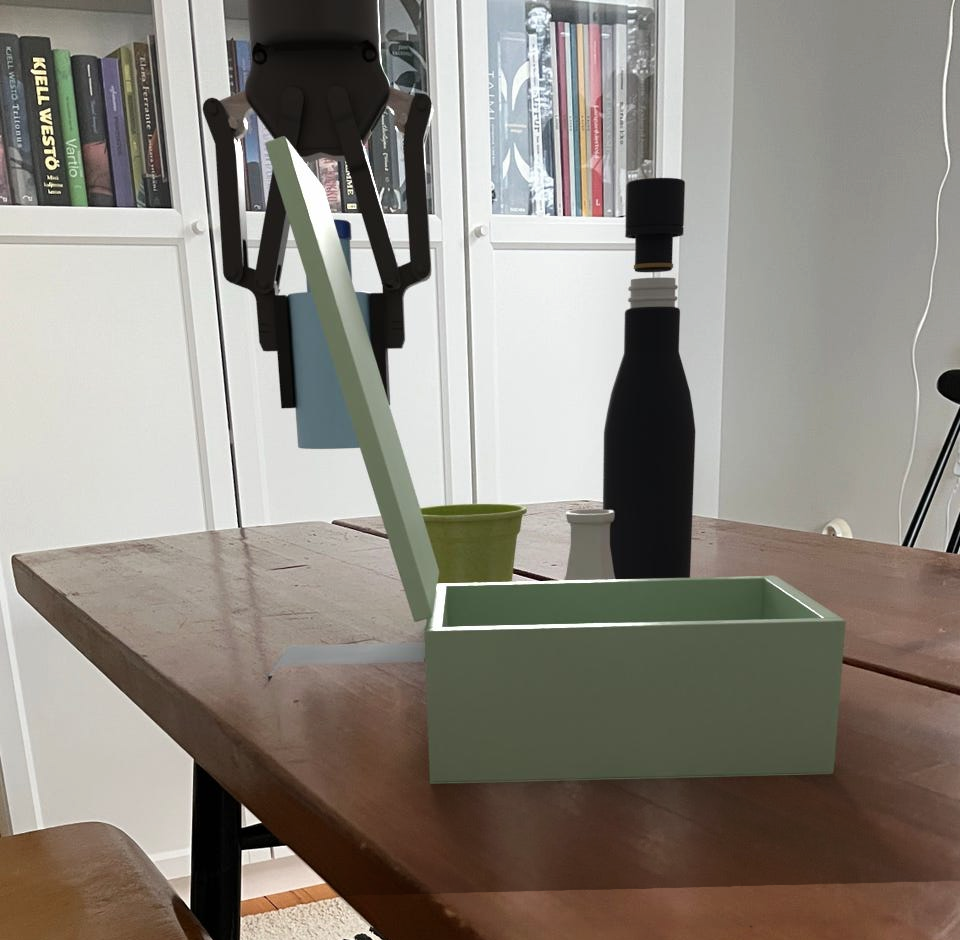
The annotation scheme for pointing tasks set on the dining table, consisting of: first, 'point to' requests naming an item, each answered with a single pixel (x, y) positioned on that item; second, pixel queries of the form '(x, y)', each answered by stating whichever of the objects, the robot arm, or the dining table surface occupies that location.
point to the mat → (351, 654)
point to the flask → (590, 545)
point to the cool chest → (630, 680)
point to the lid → (357, 374)
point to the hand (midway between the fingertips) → (336, 406)
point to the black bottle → (651, 403)
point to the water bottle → (321, 368)
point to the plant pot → (474, 541)
